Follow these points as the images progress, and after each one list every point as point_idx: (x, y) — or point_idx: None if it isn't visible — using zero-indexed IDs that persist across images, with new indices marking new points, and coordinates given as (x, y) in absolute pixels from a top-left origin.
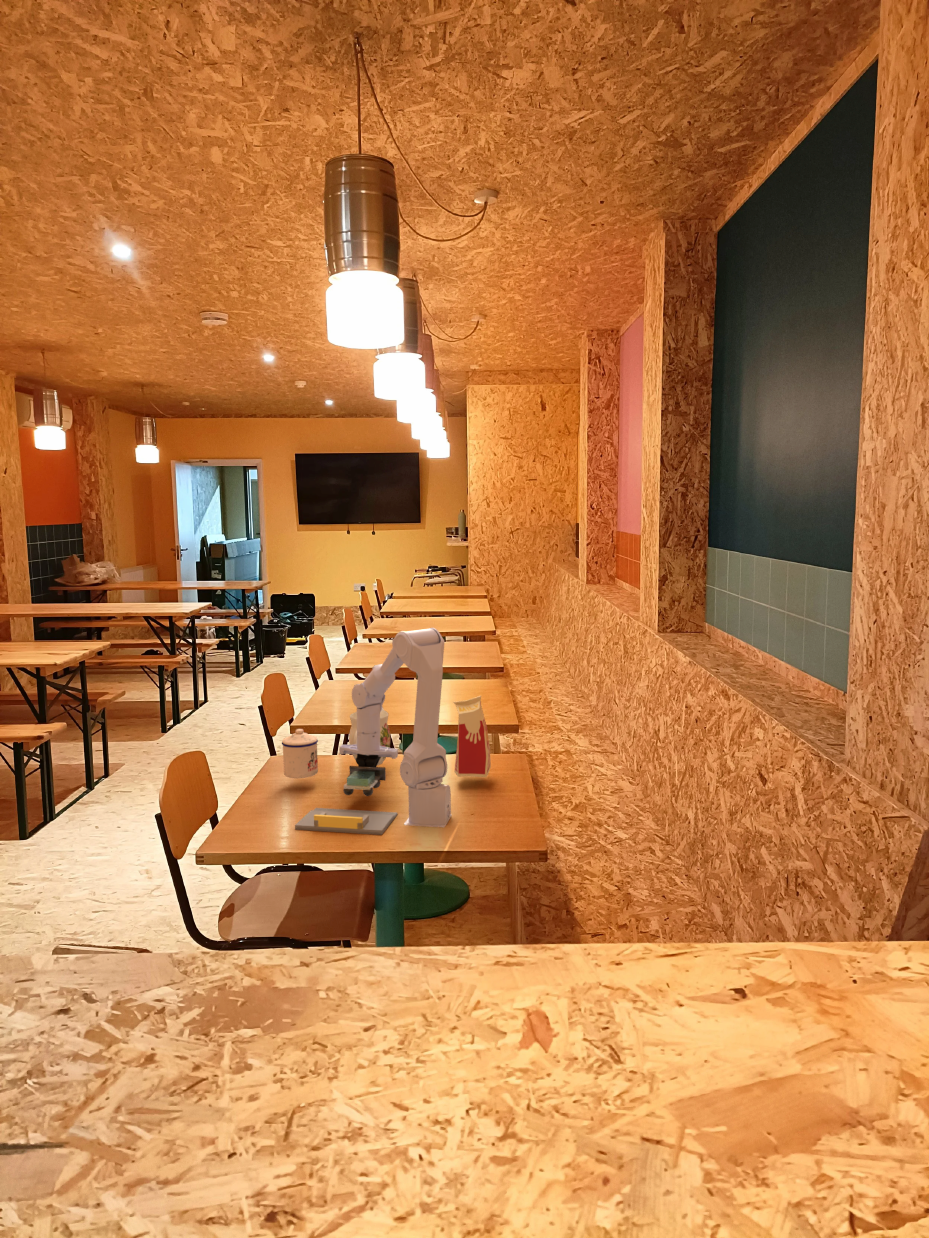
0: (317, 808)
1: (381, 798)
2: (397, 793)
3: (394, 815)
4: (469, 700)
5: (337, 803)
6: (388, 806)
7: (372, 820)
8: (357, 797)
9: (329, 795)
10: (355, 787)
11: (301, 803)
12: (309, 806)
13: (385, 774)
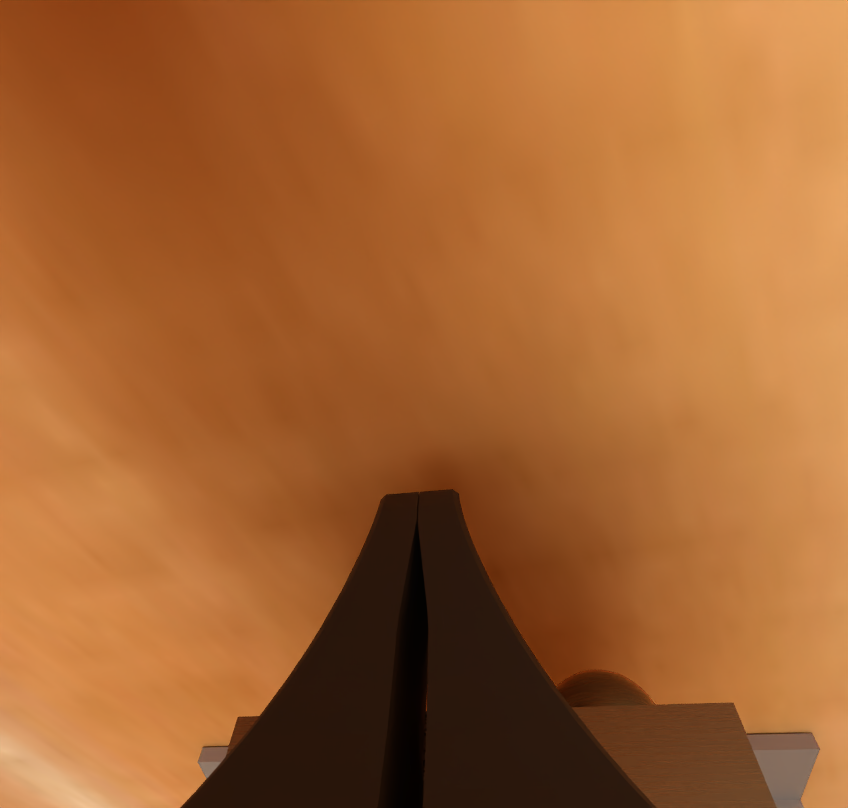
0: (215, 767)
1: (596, 493)
2: (749, 323)
3: (801, 783)
4: None
5: (265, 646)
6: (711, 631)
7: None
8: (349, 514)
9: (66, 521)
10: None
11: (14, 684)
12: (113, 712)
13: (765, 785)
